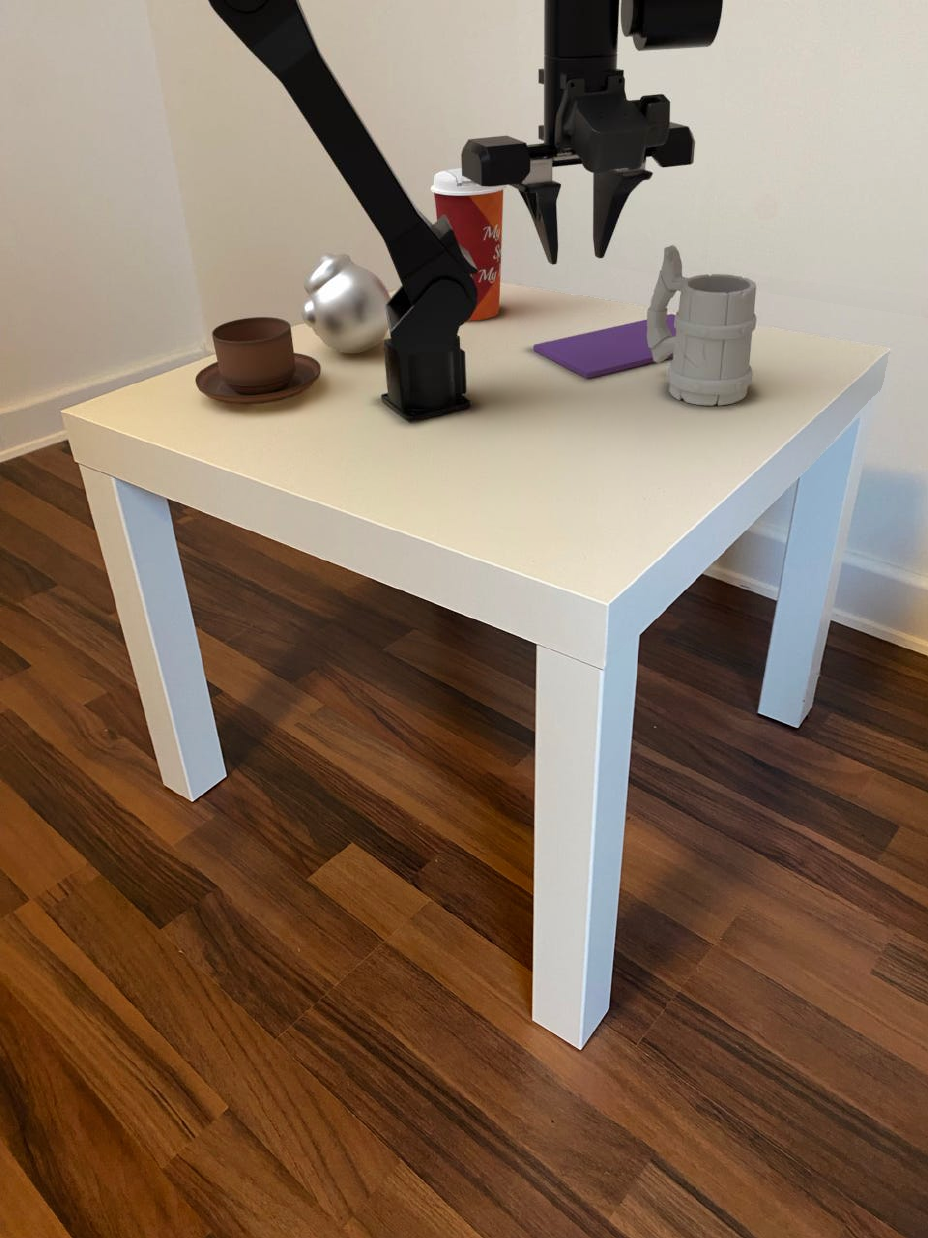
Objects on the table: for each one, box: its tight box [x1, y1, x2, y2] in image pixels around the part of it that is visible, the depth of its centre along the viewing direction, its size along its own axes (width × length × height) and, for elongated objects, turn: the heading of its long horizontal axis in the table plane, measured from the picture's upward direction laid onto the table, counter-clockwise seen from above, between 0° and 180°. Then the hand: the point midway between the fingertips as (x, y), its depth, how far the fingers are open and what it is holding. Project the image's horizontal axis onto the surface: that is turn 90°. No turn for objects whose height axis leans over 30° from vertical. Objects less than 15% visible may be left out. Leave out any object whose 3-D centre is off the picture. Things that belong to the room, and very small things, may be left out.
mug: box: [646, 244, 757, 407], centre depth 89 cm, size 8×12×12 cm, turn 36°
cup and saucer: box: [194, 316, 322, 406], centre depth 94 cm, size 12×12×6 cm
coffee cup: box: [430, 167, 508, 322], centre depth 109 cm, size 8×8×15 cm
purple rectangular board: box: [533, 313, 676, 380], centre depth 101 cm, size 18×10×1 cm, turn 118°
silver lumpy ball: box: [301, 253, 391, 354], centre depth 101 cm, size 9×10×10 cm
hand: (576, 260), depth 85 cm, fingers open, 4 cm apart
